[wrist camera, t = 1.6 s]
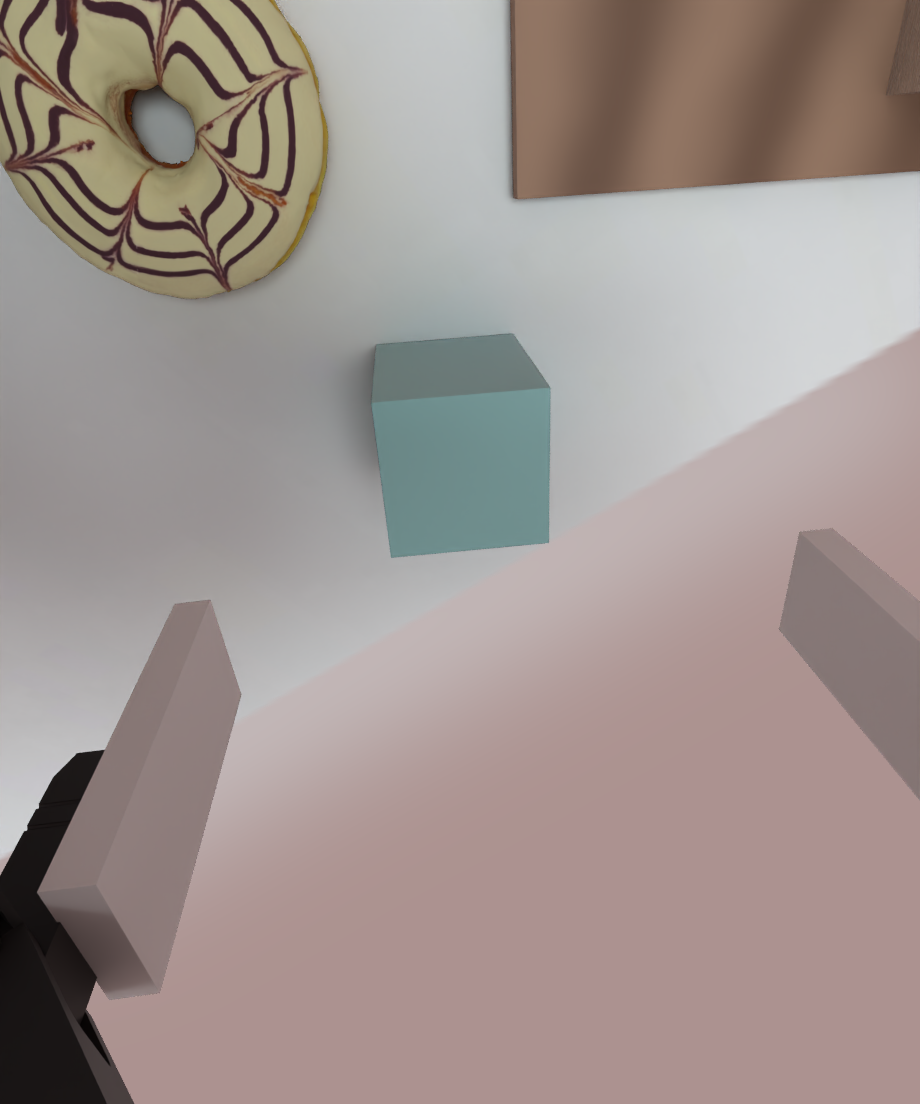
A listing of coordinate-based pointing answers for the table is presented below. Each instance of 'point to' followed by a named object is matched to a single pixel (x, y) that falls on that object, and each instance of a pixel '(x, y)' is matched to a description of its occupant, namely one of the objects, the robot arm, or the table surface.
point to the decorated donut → (121, 160)
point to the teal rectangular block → (461, 444)
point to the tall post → (907, 53)
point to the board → (704, 93)
